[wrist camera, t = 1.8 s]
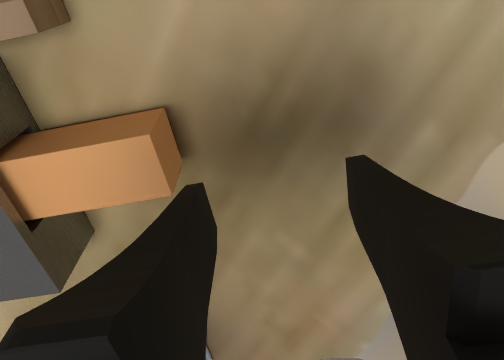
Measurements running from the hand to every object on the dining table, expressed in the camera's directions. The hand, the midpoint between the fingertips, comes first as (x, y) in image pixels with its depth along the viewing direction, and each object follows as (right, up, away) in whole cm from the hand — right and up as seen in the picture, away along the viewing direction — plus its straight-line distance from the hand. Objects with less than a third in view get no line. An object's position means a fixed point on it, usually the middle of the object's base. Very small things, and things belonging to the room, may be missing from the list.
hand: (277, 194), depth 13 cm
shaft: (-13, +1, +7) cm, 15 cm away
